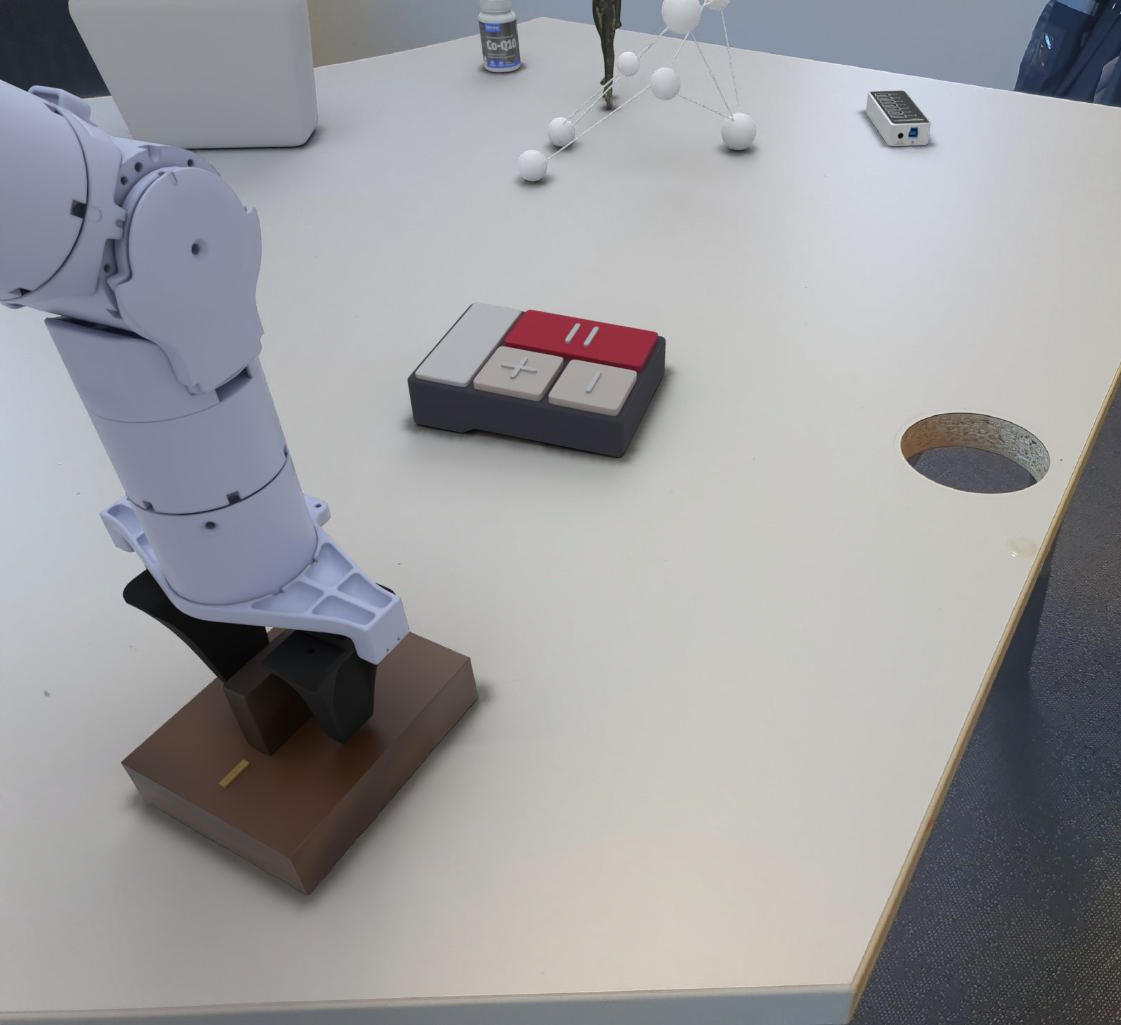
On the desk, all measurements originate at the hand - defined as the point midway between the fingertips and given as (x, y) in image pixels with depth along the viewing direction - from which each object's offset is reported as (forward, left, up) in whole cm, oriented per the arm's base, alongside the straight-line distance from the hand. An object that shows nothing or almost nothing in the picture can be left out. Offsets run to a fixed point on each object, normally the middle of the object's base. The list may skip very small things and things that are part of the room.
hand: (301, 700), depth 46 cm
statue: (+85, +35, -4) cm, 92 cm away
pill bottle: (+91, +54, -4) cm, 106 cm away
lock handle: (0, 0, 0) cm, 0 cm away
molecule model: (+72, +23, -4) cm, 76 cm away
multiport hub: (+93, +2, -4) cm, 93 cm away
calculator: (+30, +7, -4) cm, 31 cm away
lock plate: (0, 0, -3) cm, 3 cm away
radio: (+57, +66, -4) cm, 87 cm away
